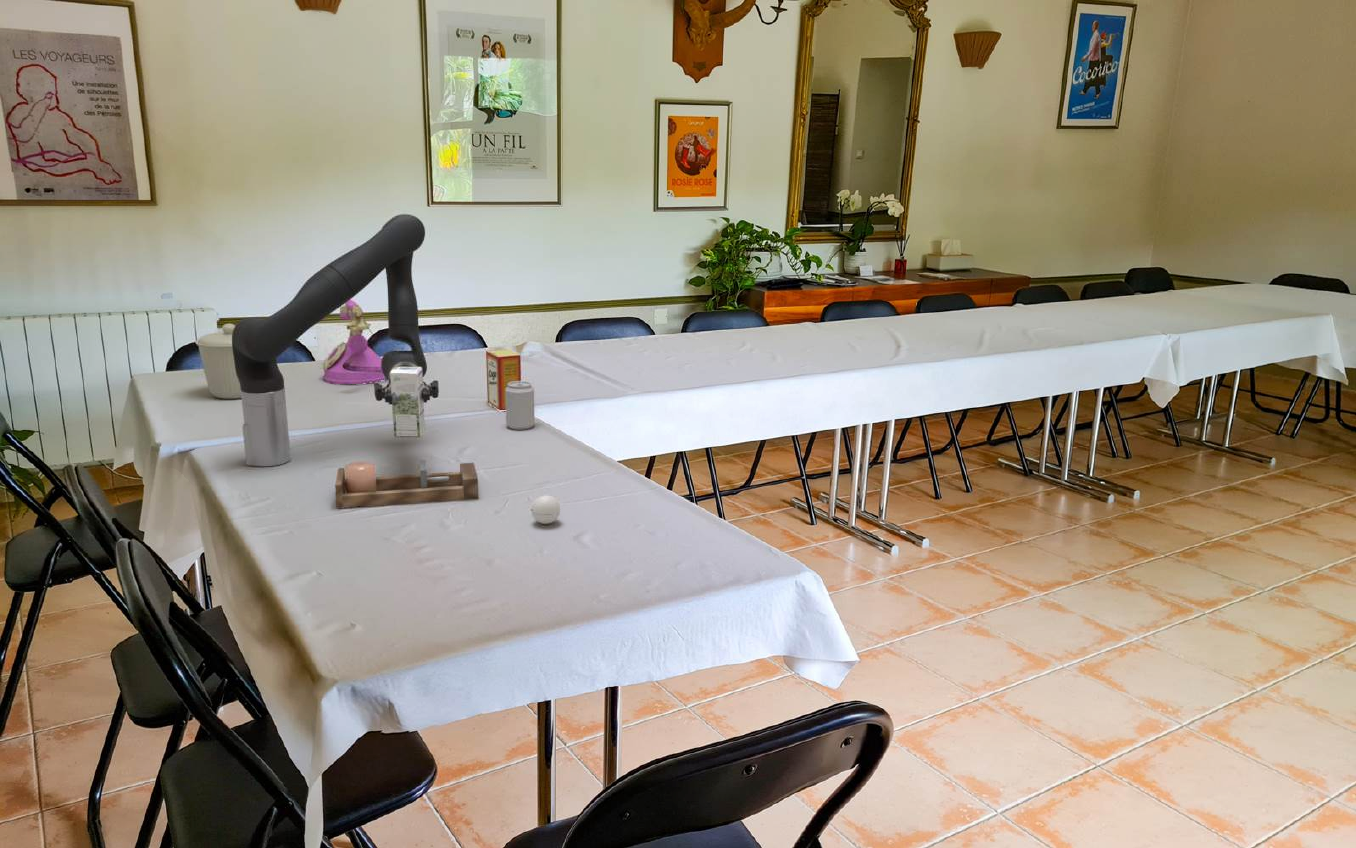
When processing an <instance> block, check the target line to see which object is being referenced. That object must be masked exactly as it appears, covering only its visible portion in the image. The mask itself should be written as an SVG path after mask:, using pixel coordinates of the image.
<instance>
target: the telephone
mask: <svg viewBox="0 0 1356 848" xmlns="http://www.w3.org/2000/svg"><path fill="white" fill-rule="evenodd" d="M363 313H364V311H363V309H362V307H361V306H360V305H359V304H357V303H356V302H355V301H354V300H353V299H352V298H351V299H350V300H349V301H347V302H346V303H345V304H344V305H342V306H341V307H339V318H340V319H341V320H348V321H350V322H349V324H348V323H347V324H346V325H345V326H346V330H349V336H348V338H347V342H344V341H342V342H341V343H339V344H338V345H337V346H336V347H334V348H333V349H332V351H331V352H330V353H328V355H327V358H325V359H324V361H323V364H322V369H323V372H324V374H323V376H322V377H323V379H324V380H325V382H326V381H327V382H326V383H328V382H331V383H330V384H332V383H334V384H333V385H336V384H363V383H370V382H377V381H381V380H384V379H386V378H385V376H384V374H383V372H382V368H381V361H382V358H383V357H381V356H379V355H378V354H377V353H376V352H375V351H374V350H373V349H372V348H371V347H372V346H373V345H374V344H376V343H377V341H378V340H379V336H378V334H377V335H374V334H373V333H372V331H371V330H370V326H371V323H367V321H365V319H363V317H362V315H363ZM364 330H365V331H367V330H369V332H370V333H371V334H372V335H373V337H371V340H369V341H368V340H367V338H366V337H365V336H364V335H363V333H364ZM363 385H364V384H363Z"/></svg>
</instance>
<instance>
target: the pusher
mask: <svg viewBox="0 0 1356 848" xmlns="http://www.w3.org/2000/svg"><path fill="white" fill-rule="evenodd" d="M419 474H420V477H421V488H420V489H424V488H428V487H427V482H438V481H449V476H443V477H427V475H426V474H427V463H426V459H421V460H419Z"/></svg>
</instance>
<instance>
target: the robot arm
mask: <svg viewBox="0 0 1356 848" xmlns="http://www.w3.org/2000/svg"><path fill="white" fill-rule="evenodd" d="M425 237H426V229H425V226H424V223H423V222H422V220H421V219H420V218H419V217H417V216H415V215H412V214H407V213H406V214H405V213H403V214H398V215H394V216H393V217H392V218H390V219H389V220H388V221H387V222H385V224H383V226H382V227H381V229H380V230H379V231H378V232H377V233H375V234H374V235H373V236H372V237H371V238H369V239H368V240H367V241H365V242H364V243H362V244H361V245H359V246H357V247H355V248H353V249H352V250H350V251H347V252H346V253H344V254H343V255H341V256H339V257H337V258H336V259H334V260H332V261H331V262H329V263H328V264H326V265H325V266H324V267H322V268H321V269H320V270H318V271H316V272H315V273H314V274H313V275H311V277H310V278H308V279H307V280H306V281H305V282H304V284H303V285H302V286H301V287H300V289H299V290H298V292H296V295H294V297H293V299H291V301H290V302H288V303H287V304H286V305H284V307H283V308H281V309H279V310H277V311H276V312H275V313H273V314H271V315H269V316H268V317H266V318H260V317H256V316H250V317H246V318H243V319H241V320H240V321H238V322H237V323H236V324H235V325H234V326H235V328H234V330H233V333H232V348H233V356H234V363H235V370H236V375H237V378H238V380H239V383H240V389H241V398H240V399H241V406H242V407H241V409H242V416H243V424H242V435H243V436H242V438H243V443H244V444H243V445H244V453H245V455H244V456H245V464H246V466H254V467H273V466H279V465H283V464H286V463H288V462H290V461H291V460H292V459H291V447H290V444H291V443H290V435H289V434H290V432H289V422H288V421H289V420H288V411H287V410H288V409H287V401H286V400H287V399H286V389H285V388H286V387H285V380H284V379H285V377H284V376H283V373H282V372H281V371H280V368H279V366H278V363H277V358H278V357H279V356H281V355H282V354H283V353H284V352H285V351H286V350H288V348H290V347H291V346H292V345H293V344H294V342H296V341H297V340H298V339H299V338H300V337H301V336H303V334H305V333H306V332H307V331H308V330H309V329H311V328H313V327H314V326H316V325H317V324H318V323H319V322H320V323H321V321H323V320H324V319H325V318H327V317H328V316H329V315H330V314H332V313H333V312H335V311H336V310H338V309H340V307H341V306H344V305H345V303H346V302H347V301H349V300H350V299H351V300H352V299H353V298H354V297H355V296H356V295H358V294H359V293H361V291H362V290H364V289H366V287H367V286H369V284H370V283H371V282H372V281H374V279H375V278H377V276H379V275H380V274H381V273H382V272H383V271H384V270H385V275H386V284H387V285H386V286H387V287H386V288H387V312H388V313H387V315H388V316H387V317H388V318H387V319H388V321H387V322H388V323H387V324H388V337H389V339H390V340H392V341H396V342H400V343H405V344H407V345H408V346H409V347H410V349H411V350H389V351H386V352H385V353H384V354H383V356H382V357H381V358H382V361H381V368H382V372H383V374H384V376H385V378H386V379H387V380H388V383H387V384H386V386H385V385H383V384H380V382H378V383H373V389H374V391H373V392H374V393H373V395H374V397H375V400H376V401H378V402H380V401H383V400H384V402H385V403H386V404H387V403H388V405H392V395H391V380H390V372H391V371H392V369H393V368H395V367H422V376H423V378H424V376H425V375H426V374H427V370H428V365H427V364H428V363H427V360H426V357H425V354H424V351H423V348H422V345H421V341H420V332H419V308H418V301H417V295H416V292H415V288H414V283H413V282H414V281H413V276H412V275H413V274H412V272H413V271H412V269H413V268H412V267H413V266H412V265H413V264H412V263H413V258H414V252H416V251H417V250H418V249H419V248H421V246H422V245H423V243H424V241H425ZM387 380H386V381H387ZM439 392H440V389H439V381H438V380H437V379H436V380H432V381H430V383H429V384H427V383H426V382H425V381H423V402H424V404H425V403H428V401H430V400H431V398H434V399H437V398H438V397H439Z"/></svg>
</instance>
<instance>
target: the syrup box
mask: <svg viewBox="0 0 1356 848" xmlns="http://www.w3.org/2000/svg"><path fill="white" fill-rule="evenodd" d="M423 378H424V377H423V376H422V367H395V368H393V369H392V371H391V372H390V380H391V395H392V404H391V407H392V408H391V409H392V422H393V425H392V426H393V437H394V438H405V439H406V438H413V439H414V438H416V439H417V438H421V437H422V436H423V435H424V433H425V432H426V421H425V420H426V419H425V418H426V417H425V405H424V404H425V403H424V402H423V382H424V379H423Z"/></svg>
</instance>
